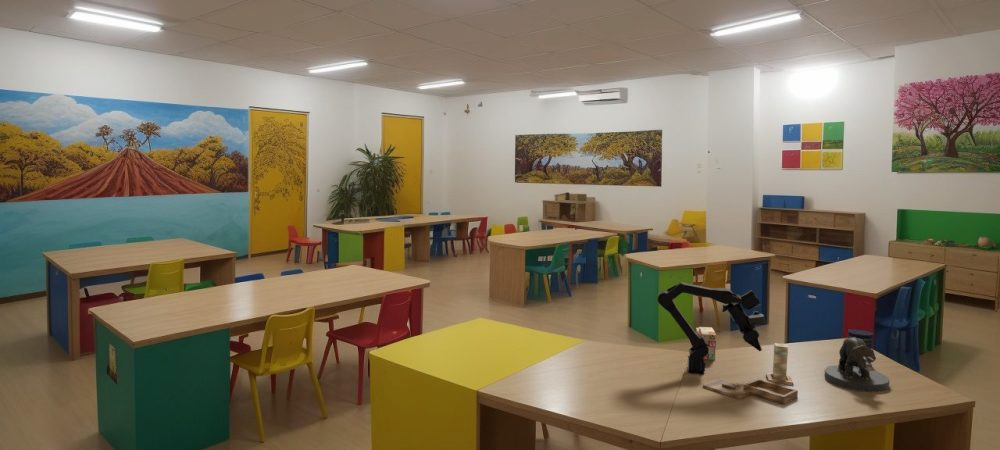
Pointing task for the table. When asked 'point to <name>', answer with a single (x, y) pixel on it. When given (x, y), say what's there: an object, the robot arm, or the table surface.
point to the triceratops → (856, 368)
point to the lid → (727, 388)
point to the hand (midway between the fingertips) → (759, 347)
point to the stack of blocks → (710, 337)
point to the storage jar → (862, 337)
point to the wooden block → (780, 361)
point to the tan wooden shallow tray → (771, 391)
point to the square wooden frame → (787, 382)
